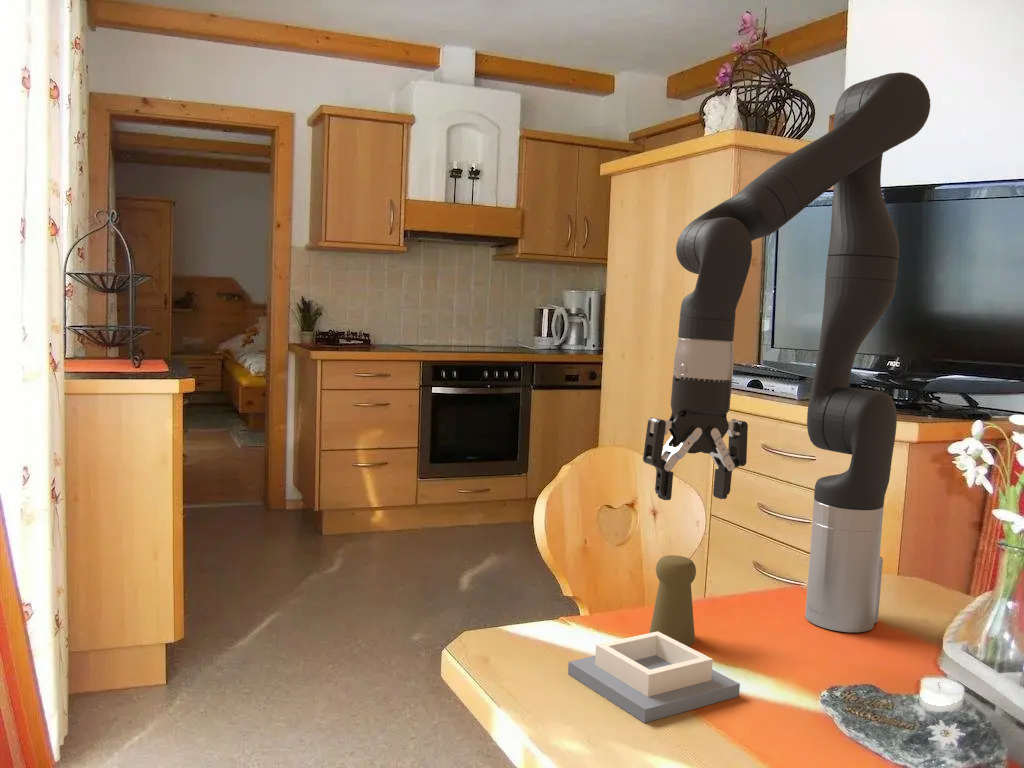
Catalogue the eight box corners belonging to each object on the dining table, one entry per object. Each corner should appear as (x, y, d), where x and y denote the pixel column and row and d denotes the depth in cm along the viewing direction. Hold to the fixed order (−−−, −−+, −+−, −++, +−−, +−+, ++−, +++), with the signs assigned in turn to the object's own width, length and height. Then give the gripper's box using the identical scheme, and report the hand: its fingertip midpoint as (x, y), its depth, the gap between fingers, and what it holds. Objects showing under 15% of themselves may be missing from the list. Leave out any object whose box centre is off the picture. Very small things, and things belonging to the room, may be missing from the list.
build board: (657, 652, 118) (659, 622, 117) (739, 696, 106) (741, 662, 105) (567, 673, 110) (569, 641, 110) (644, 723, 98) (646, 686, 98)
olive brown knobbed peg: (694, 649, 119) (700, 566, 118) (647, 644, 120) (652, 561, 119) (695, 632, 125) (700, 553, 124) (650, 627, 126) (654, 549, 125)
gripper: (731, 374, 126) (721, 492, 127) (639, 370, 120) (630, 493, 122) (766, 379, 119) (755, 504, 120) (670, 375, 113) (659, 505, 115)
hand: (692, 498), depth 121 cm, fingers open, 8 cm apart
